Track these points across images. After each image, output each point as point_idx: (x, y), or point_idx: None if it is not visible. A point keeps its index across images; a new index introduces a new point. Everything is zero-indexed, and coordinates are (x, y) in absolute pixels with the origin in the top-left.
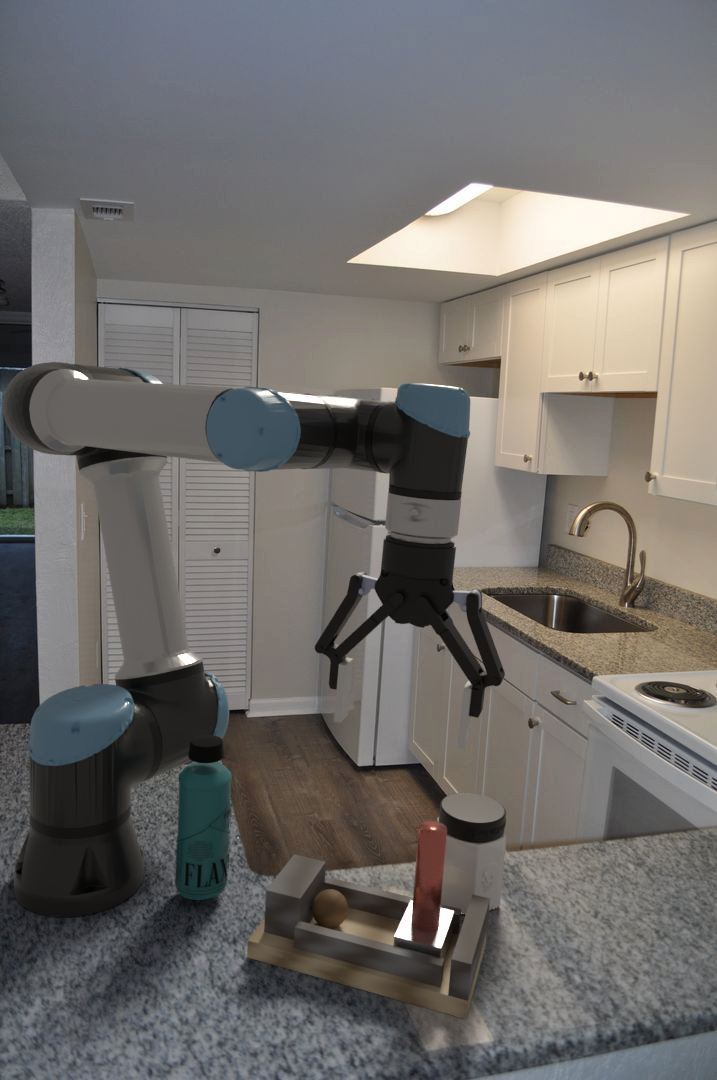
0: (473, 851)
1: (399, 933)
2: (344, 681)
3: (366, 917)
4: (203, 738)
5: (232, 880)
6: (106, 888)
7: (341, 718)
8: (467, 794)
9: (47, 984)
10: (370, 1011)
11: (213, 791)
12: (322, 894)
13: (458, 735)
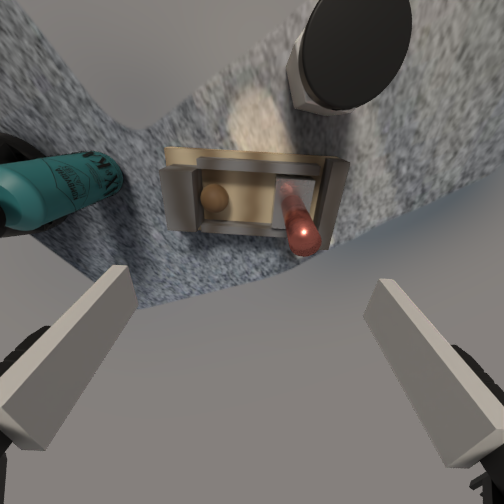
0: (342, 112)
1: (274, 223)
2: (82, 387)
3: (241, 175)
4: None
5: (113, 138)
6: None
7: (134, 306)
8: None
9: (101, 272)
10: (263, 242)
11: (46, 220)
12: (206, 204)
13: (373, 335)
